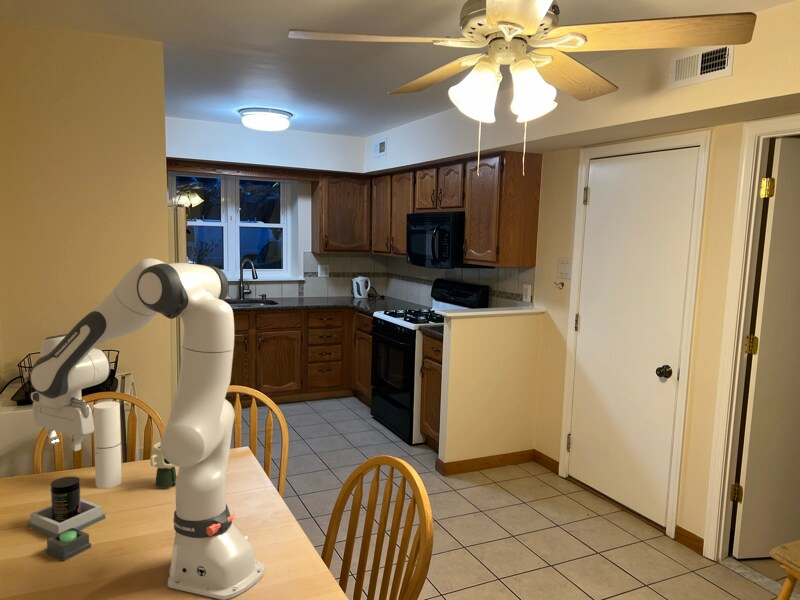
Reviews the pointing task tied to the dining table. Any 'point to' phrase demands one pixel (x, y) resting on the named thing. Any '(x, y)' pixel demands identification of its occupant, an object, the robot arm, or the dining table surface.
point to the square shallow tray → (49, 527)
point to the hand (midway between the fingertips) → (65, 446)
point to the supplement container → (65, 498)
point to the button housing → (67, 545)
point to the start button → (68, 536)
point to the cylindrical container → (107, 444)
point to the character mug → (162, 468)
